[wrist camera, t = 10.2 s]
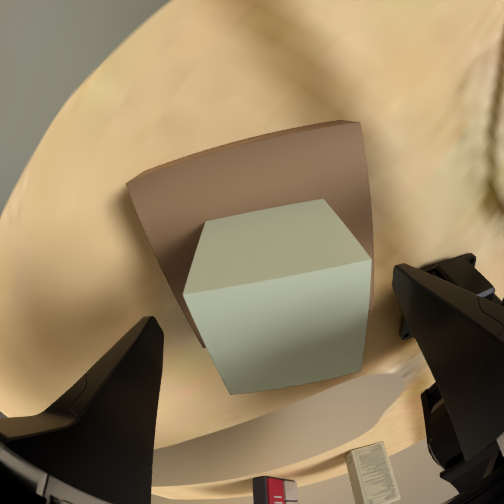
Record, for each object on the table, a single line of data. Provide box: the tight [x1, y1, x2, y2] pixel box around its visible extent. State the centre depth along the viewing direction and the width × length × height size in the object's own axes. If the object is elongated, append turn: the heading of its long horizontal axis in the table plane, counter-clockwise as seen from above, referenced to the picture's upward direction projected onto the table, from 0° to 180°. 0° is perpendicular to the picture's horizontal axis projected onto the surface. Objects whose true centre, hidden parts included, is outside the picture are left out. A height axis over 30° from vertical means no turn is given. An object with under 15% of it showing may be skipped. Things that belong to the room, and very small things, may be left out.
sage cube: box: [183, 199, 372, 395], centre depth 10 cm, size 5×5×5 cm
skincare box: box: [345, 442, 401, 504], centre depth 28 cm, size 6×4×12 cm
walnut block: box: [126, 120, 374, 348], centre depth 14 cm, size 10×10×3 cm
